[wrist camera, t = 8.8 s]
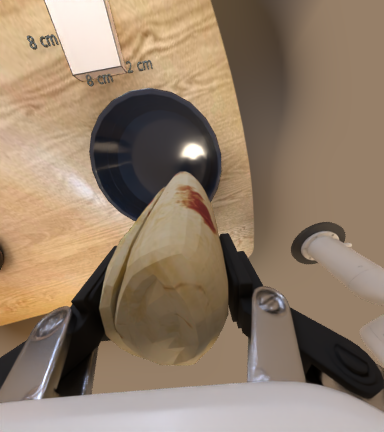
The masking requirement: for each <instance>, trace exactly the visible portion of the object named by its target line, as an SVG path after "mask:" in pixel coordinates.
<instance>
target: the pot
mask: <svg viewBox="0 0 384 432" xmlns="http://www.w3.org/2000/svg"><path fill="white" fill-rule="evenodd" d="M89 153H90V159H91V166H92V171H93V174H94V176H95V179H96V181H97V184H98V186H99V188H100V190H101V191H102V192H103V194H104V195H105V197H106V198H107V200H108V201H109V202H110V203H111V204H112V205H113V206H114V207H115V208H116V209H117V210H118V211H119V212H120V213H122V214H124V215H125V216H127V217H129V218H130V219H132V220H134V221H136V220H137V219H138V218H139V216H140V215H141V214H142V212H143V211H144V210H145V209H146V207H147V206H148V205H149V203H150V202H151V201H152V200H153V199H154V197H155V196H156V195H157V194H158V192H159V191H160V190H161V189H162V188H164V187H166V186H167V185H168V183H169V182H170V181H171V179H172V178H173V177H174V176H175V175H176V174H177V173H179V172H188V173H190V174H191V175H193V176H194V177H195V178H196V180H197V181H198V182H199V183H200V184H201V186H202V187H203V189H204V190H205V192H206V195H207V197H208V199H209V201H210V202H211V201H212V199H213V197H214V195H215V193H216V191H217V189H218V185H219V181H220V177H221V172H222V171H221V152H220V148H219V145H218V141H217V138H216V135H215V133H214V131H213V130H212V128H211V126H210V124H209V123H208V121H207V119H206V118H205V117H204V116H203V115H202V114H201V113H200V112H199V111H198V110H197V109H196V108H195V107H194V106H193V105H192V104H191V103H190V102H189V101H187V100H185V99H183V98H181V97H179V96H178V95H176V94H174V93H172V92H168V91H163V90H158V89H153V88H147V89H140V90H133V91H129V92H127V93H125V94H123V95H122V96H120V97H118V98H116V99H114V100H113V101H111V102H110V104H109V105H108V106H107V107H106V108H105V109H104V110H103V111H102V113H101V114H100V115H99V117H98V119H97V121H96V124H95V126H94V128H93V131H92V133H91V141H90V150H89Z"/></svg>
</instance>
